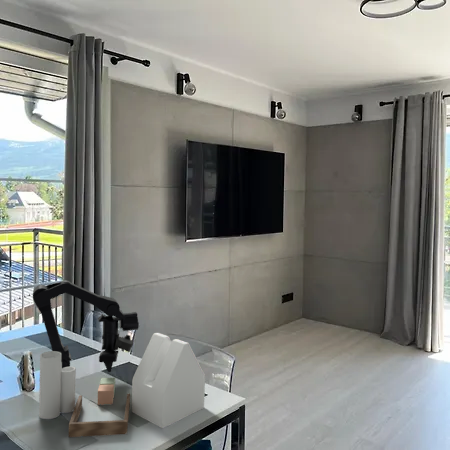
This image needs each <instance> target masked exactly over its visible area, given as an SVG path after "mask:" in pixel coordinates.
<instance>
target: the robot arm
mask: <svg viewBox="0 0 450 450" xmlns="http://www.w3.org/2000/svg"><path fill="white" fill-rule="evenodd" d="M63 294H68V295H70V296H72V297H74V298H76V299H79V300H81V301H83V302H85V303H88V304H90V305H92V306H94V307H95V308H97V309H99V311H100V312H102V313H101V315H100V316H99V317H97V321H98V322H99V323H102V336H101V340H102V343H101V344H102V345H101V352H100V353H99V357H98V362H99V363H103V364H104V367H105V369H106V371H107V373H111V372H112V369H113V365H114V363H115V362H117V360H118V357H119V356H118V354H119V349H121V350H123V351H126V352H127V353H130V352H131V349H132V347H133V344H134V341H133V340H132V339H131V335H129V334H126V335H124V336H120V333H119V329H120V330H121V329H122V331H123V332H128V331H137V330H139V327H140V323H139V317H138V313H137V312H136V311H135V312H134V311H133V312H124V313H123V311H122V310H121V309H120V308H121V307H120V304H119V302H118V301H117V299H115V298H113V297H110V296H107V295H99V294H97V293H94V292H92V291H90V290H88V289H86V288H84V287H81V286H80V285H77V284H75V283H72V282H71V281H70V280H66V279H64V280H62V281H61V280H60V281H59V282H54V283H49V284H46V285H45V284H38V285H37V286H35V287H34V289H33V290H32V300H33V302H34V304H35V306H36V307H37V309H38V311H39V312H40V314H41V317H42V321H43V325H44V327H45V331H46V334H47V336H48V340H49V344H50V347H51V351H57V352H60V353H61V362H62V368H65V367H71V361H73V360H72V354H71V353H70V351H69V346H68V344H67V345H65V346H64V344H63V343H62V339H61V336H60V332H59V329H58V325H57V323H56V318H55V316H54V315H55V314H54V313H53V309H52V302H51V301H52V299H55V298H57V297H60V296H62V295H63Z"/></svg>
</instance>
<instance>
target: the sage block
mask: <svg viewBox="0 0 450 450" xmlns="http://www.w3.org/2000/svg"><path fill="white" fill-rule="evenodd" d="M113 384H114V394H115V392H116V377H101V379H100V381H99V385H113Z"/></svg>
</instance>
